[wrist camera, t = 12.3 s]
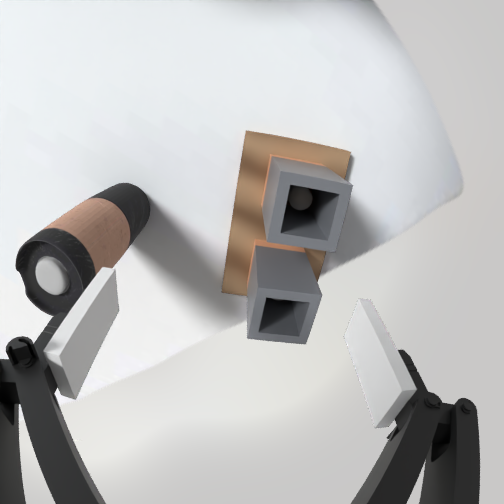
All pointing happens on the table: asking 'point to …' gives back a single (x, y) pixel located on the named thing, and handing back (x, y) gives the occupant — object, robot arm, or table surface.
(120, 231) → the travel mug
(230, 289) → the pinboard
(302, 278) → the banded sleeve
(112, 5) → the table surface
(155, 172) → the table surface
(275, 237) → the seated sleeve
